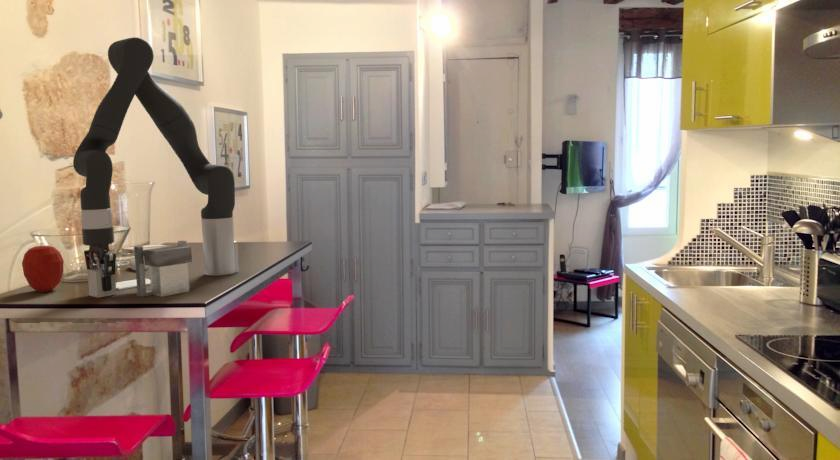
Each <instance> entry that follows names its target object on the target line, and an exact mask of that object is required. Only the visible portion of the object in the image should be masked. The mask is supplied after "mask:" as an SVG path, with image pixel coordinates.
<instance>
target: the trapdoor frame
mask: <svg viewBox="0 0 840 460" xmlns="http://www.w3.org/2000/svg"><path fill="white" fill-rule="evenodd" d="M177 245H181V246H188V245H187V240H177ZM143 246H144V245H136V246H133V247H134V253H135V254H134V258H135V267H136V271H135V279H136V280H137V287H136V292H135V295H136V297H137V296H138V297H141V298H142V297H147V296H152V295H153V296H157V297H167V296H173V295H178V294H184V293H189V292H190V289H191V288H192V287H191V284H190V279H189V275H190V274H189V262H187V263H180V264H174V265H167V266H160V267H154V266H149V277H150V281H151V285H150V289H148V290H147V285H146V283H145V279H146V272H145V271H146V270H145V269H144V255H143Z"/></svg>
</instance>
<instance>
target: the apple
mask: <svg viewBox="0 0 840 460" xmlns="http://www.w3.org/2000/svg"><path fill="white" fill-rule="evenodd" d="M21 264H22V265H21V266H22V271H23V277H24V278H25V280H26V281H27V284H28V286H29V287H31V289H33V290H34V291H36V292H39V293H47V292H51V291H53V290H54V289H55V288H56V287H57V286H59V285H60V283H61V280H62V277H63V275H64V258H63V256H62V254H61V251H59V250H58V249H57V248H56V247H54V246H52V245H42V244H40V245H39V246H38V245H37V246H33V247H31V248H28V249H27V251H25V253H24V255H23V258H22V261H21Z"/></svg>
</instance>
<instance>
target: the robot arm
mask: <svg viewBox="0 0 840 460" xmlns="http://www.w3.org/2000/svg"><path fill="white" fill-rule="evenodd" d="M107 49H108V50H107V59H108V61H109V65H111V68H112V69H113V70H114V71H115V73H116V74H117V75H116V78H115V79H114V82H113V83H112V85H111V87H110V89H109V90H108V91H107V93H106V94H105V96H104V97H103V98H102V100H101V102H100V103H99V105H98V106H97V107H96V111H95V112H94V116H93V118H92V121H91V123H90V126H89V129H88V132H87V134H86V135H85V137H84V138H83V139H82V141H81V143H80V144H79V146H78V148H77V149H76V150H75V154H74V157H73V159H72V161H73V162H72V165H73V169H74V171H75V173H77V174H78V175H79V176H81V177H84V178H85V186H84V187H83V188H82V189H80V194H79V196H80V197H79V198H80V210H81V211H80V213H81V215H80V223H81V224H80V225H81V234H82V235H81V237H82V244H83V245H84V246H88V249H86V250H84V251H83V254H84V261H85V264H86V270H87V269H94V268H98V269H99V270H101V277H102V290H103V291H111V290H112V284H111V276H112V275H114V274H115V275H116V265H117V264H116V263H117V262H116V260H117V254H116V252H111V250H110V247H109V245H112V244H113V243H114V242H115V236H114V232H115V231H114V224H113V223H114V220H113V214H112V209H111V196H110V195H111V194H110V189H111V185H112V178H113V162H112V159H111V157H110V155H109V154H108V153H107V152H106V151H107V150H108V148H109V147H111V146H113V145H114V144H115V143H116V142H117V139H118V137H119V134H120V132H121V129H122V126H123V123H124V121H125V118H126V116H127V113H128V110H129V108H130V105H131V103H132V101H133V99H134V97H136V98H137V100H138V101H139V102H140V104H141V105H142V107H143V108H144V110H145V111H146V112H147V114H148V115H149V117H150V118H151V120H152V121H153V123H154V125H155V126H156V128H157V129H158V131H159V132H160V133H161V135H162V136H163V138H164V139H165V140H166V142H167V143H168V144H169V145H170V147H171V149H172V150H173V151H174V153H175V155H176V156H177V157H178V159H179V161H180V162H181V164H182V165H183V167H184V169H185V171H186V173H187V174H188V176H189V178H190V179H191V182H192V183H193V185H194V187H195V188H196V189H197V190H198V191H199V193H201V194H203V195H207V203H206V205H205V206H204V207H203V208H201V210H200V217H201V219H200V220H201V221H200V222H201V237H202V250H203V251H202V252H203V265H204V266H203V267H204V275H206V276H209V277H211V276H215V277H216V276H218V277H219V276H229V275H233V274H235V273H239V254H238V253H239V252H238V250H239V249H238V242H237V241H236V240H235V232H234V230H235V229H234V215H233V213H234V209H235V204H236V184H235V178H234V177H235V176H234V174H233V172H232V170H231V168H229V166H227V165H224V164H212V163H211V162H210V161H209V160H208V158H207V157H206V156H205V155H204V153H203V152H202V149H201V148H200V146H199V141H198V136H197V130H196V127H195V124H194V121H193V119H192V118H191V116H190V114H188V112H187V111H186V109H185V108H184V106H183V105H182V104H181V102H179V100H177V98H175V96H173V95H172V93H171V94H170V92H168V91H167V90H165V88H163V87H162V86H161V85H159V84H158V83H157V81H156V80H155V79H154V78H153V77H152V75H151V74H150V72H149V70H150V68H151V66H152V64H153V62H154V51H153V50H154V49H153V47H152V46H151V44H150V43H149V42H148V41H147V40H145V39H144V38H142V37H134V36H133V37H128V38H124V39H120V40H116V41H113V43H111V44H110V45H109V47H108V48H107ZM111 268H112V270H111Z"/></svg>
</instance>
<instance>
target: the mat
mask: <svg viewBox="0 0 840 460" xmlns="http://www.w3.org/2000/svg"><path fill="white" fill-rule="evenodd" d="M145 283H146V286H151V281H150V279H149V278H145ZM133 288H137V280H136V278H135V279H131V280H124V281H118V282H116V290H117V291H118V290H119V291H121V290H126V289H127V290H128V289H133Z"/></svg>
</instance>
